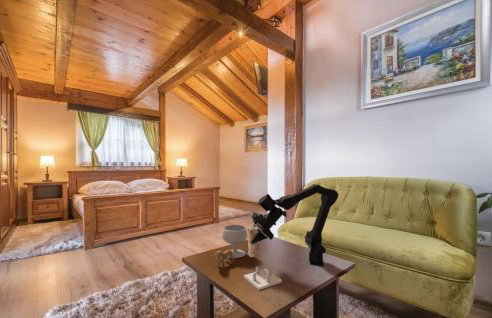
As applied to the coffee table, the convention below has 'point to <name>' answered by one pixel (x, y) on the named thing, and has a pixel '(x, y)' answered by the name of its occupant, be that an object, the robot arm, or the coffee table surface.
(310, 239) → the robot arm
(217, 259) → the lion figurine
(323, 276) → the coffee table surface
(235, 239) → the chalice
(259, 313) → the coffee table surface
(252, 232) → the birch post
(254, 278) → the peg stand
